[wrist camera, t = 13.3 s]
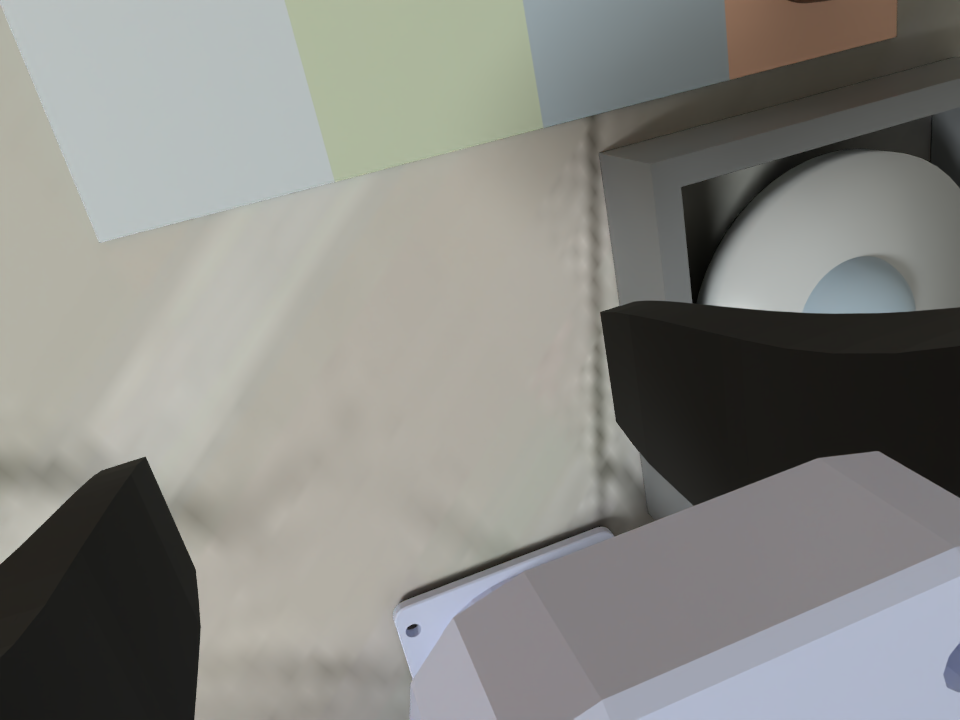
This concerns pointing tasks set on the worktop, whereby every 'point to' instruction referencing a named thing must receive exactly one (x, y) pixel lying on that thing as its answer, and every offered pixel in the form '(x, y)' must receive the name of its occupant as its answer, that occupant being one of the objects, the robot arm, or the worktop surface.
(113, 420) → the worktop surface
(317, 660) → the worktop surface
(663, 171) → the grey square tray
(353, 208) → the worktop surface
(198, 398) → the worktop surface
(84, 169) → the strip
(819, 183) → the dome
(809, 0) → the walnut pawn
